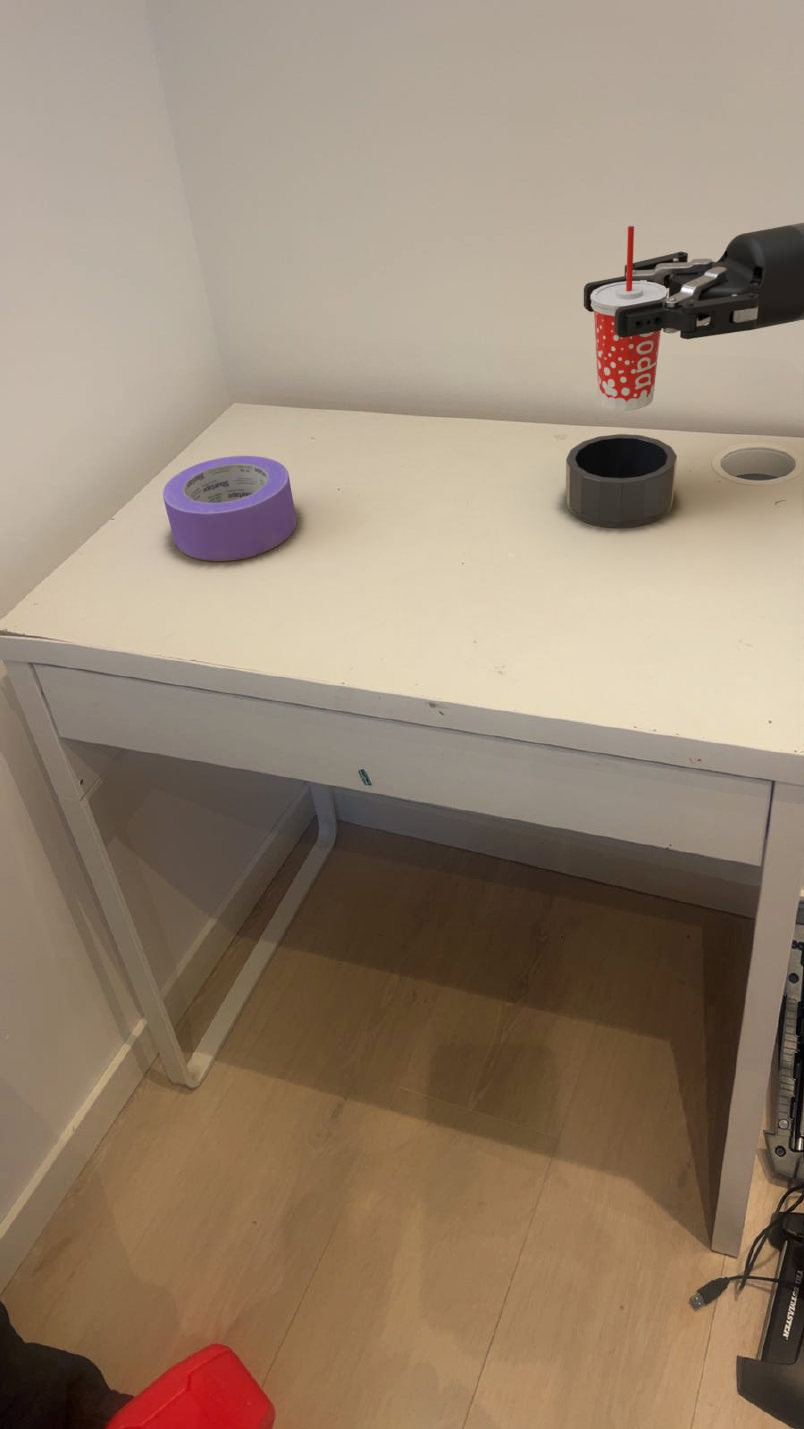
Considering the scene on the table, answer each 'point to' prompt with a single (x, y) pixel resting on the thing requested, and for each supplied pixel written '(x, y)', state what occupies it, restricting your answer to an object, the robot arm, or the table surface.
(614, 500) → the socket
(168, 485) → the tape roll
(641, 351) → the beverage cup
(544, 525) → the table surface
